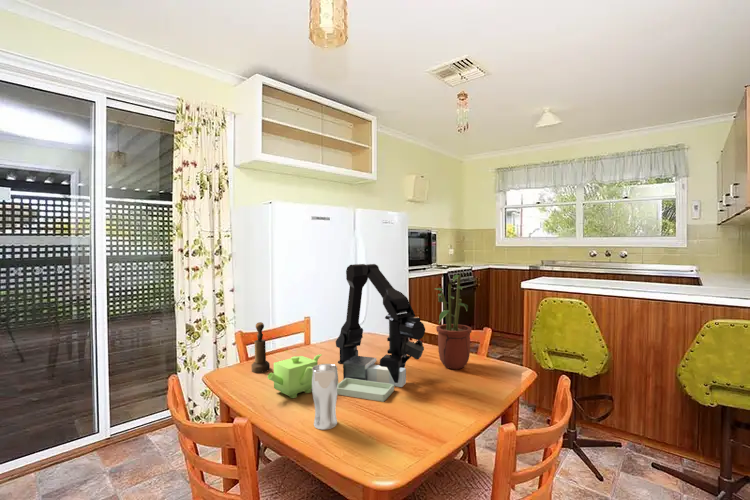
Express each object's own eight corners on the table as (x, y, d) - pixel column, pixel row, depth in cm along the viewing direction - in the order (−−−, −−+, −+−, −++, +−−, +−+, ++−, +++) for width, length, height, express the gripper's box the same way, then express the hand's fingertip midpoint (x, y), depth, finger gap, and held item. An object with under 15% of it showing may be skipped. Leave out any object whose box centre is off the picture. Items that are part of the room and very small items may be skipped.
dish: (333, 393, 120) (332, 387, 120) (346, 383, 128) (345, 377, 128) (384, 401, 113) (384, 395, 113) (394, 390, 122) (394, 384, 122)
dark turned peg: (247, 371, 141) (246, 323, 141) (259, 366, 147) (258, 320, 147) (262, 373, 139) (261, 324, 138) (273, 368, 145) (272, 321, 144)
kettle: (322, 382, 129) (321, 350, 129) (317, 400, 115) (316, 363, 115) (278, 383, 129) (277, 350, 129) (267, 401, 115) (266, 364, 114)
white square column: (364, 382, 129) (364, 367, 129) (369, 378, 133) (368, 363, 133) (402, 387, 124) (402, 371, 124) (405, 382, 128) (405, 368, 128)
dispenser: (343, 382, 130) (343, 362, 130) (354, 373, 138) (354, 355, 138) (366, 385, 126) (366, 365, 126) (376, 376, 135) (376, 357, 135)
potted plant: (478, 366, 144) (478, 274, 143) (455, 377, 133) (454, 277, 133) (440, 356, 157) (440, 272, 156) (416, 365, 146) (415, 274, 145)
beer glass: (313, 418, 103) (312, 363, 103) (339, 417, 104) (338, 362, 103) (311, 431, 96) (310, 372, 96) (338, 430, 97) (337, 371, 96)
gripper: (413, 343, 115) (413, 394, 115) (428, 329, 132) (428, 374, 133) (378, 340, 119) (379, 389, 119) (397, 327, 136) (398, 370, 137)
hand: (398, 380), depth 127 cm, fingers closed on white square column, 4 cm apart
